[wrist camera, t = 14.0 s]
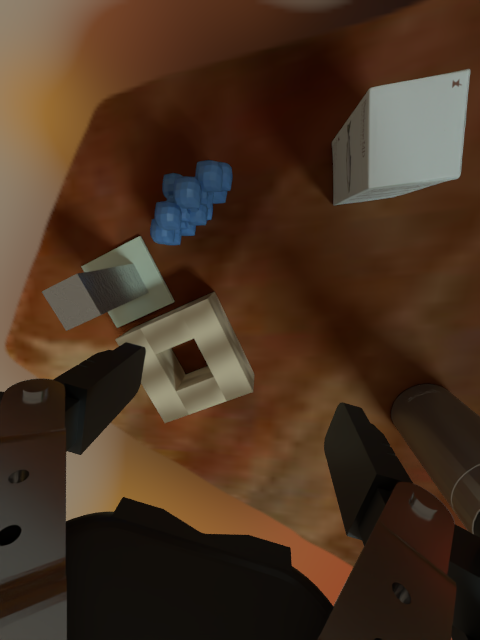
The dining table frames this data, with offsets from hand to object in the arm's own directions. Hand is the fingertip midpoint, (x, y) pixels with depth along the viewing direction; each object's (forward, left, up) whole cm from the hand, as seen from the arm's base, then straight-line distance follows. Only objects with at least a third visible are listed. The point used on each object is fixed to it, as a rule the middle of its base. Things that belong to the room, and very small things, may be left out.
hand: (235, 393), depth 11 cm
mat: (+7, +17, -28) cm, 34 cm away
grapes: (+12, +3, -29) cm, 31 cm away
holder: (-6, +13, -28) cm, 32 cm away
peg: (+7, +17, -28) cm, 33 cm away
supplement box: (+7, -17, -29) cm, 34 cm away
